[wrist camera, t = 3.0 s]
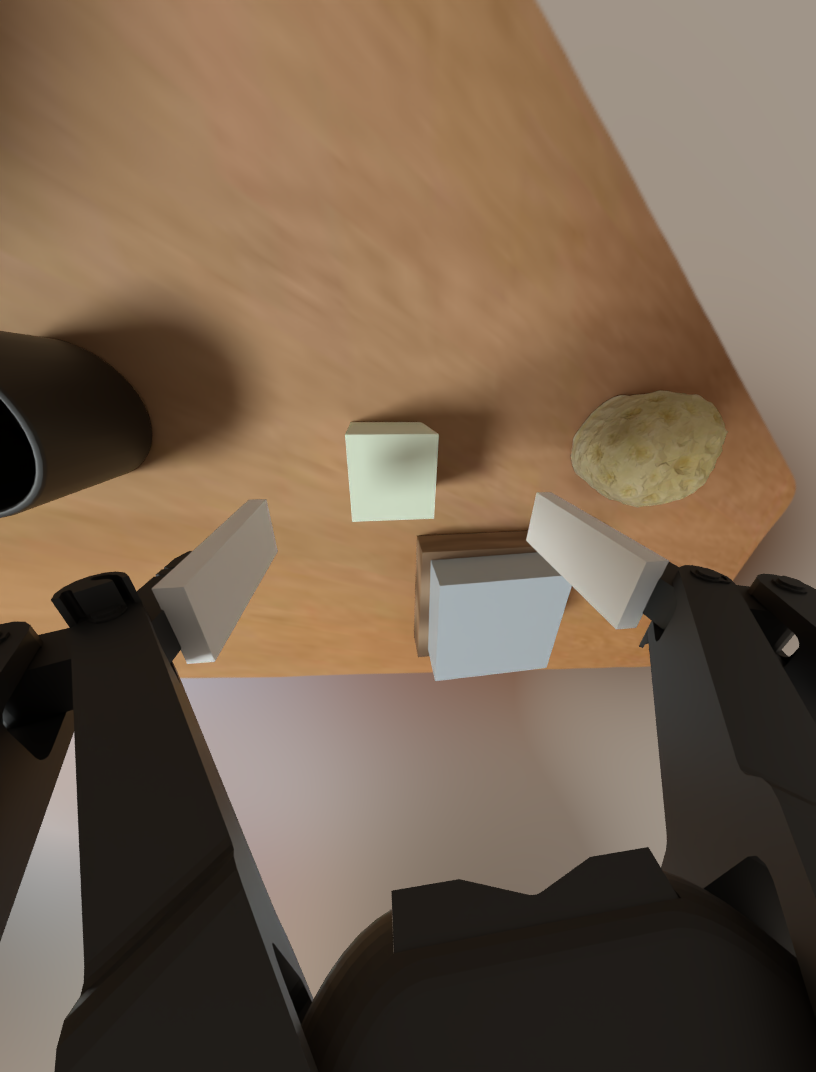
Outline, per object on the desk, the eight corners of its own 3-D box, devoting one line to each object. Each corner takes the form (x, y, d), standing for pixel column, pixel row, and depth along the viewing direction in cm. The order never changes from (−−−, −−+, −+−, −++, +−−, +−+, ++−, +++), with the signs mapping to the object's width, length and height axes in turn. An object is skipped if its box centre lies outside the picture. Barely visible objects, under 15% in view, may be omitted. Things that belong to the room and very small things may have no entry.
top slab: (430, 560, 28) (439, 585, 24) (549, 551, 29) (575, 574, 25) (428, 649, 33) (435, 680, 30) (528, 638, 34) (546, 667, 31)
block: (350, 422, 24) (345, 434, 18) (421, 422, 25) (438, 434, 19) (355, 490, 27) (352, 521, 21) (419, 488, 28) (433, 518, 22)
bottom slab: (416, 533, 31) (422, 552, 27) (540, 527, 32) (562, 545, 29) (413, 631, 37) (418, 657, 33) (517, 622, 39) (532, 646, 35)
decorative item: (544, 454, 32) (584, 535, 27) (595, 369, 23) (666, 470, 19) (625, 441, 32) (676, 518, 28) (706, 353, 23) (799, 448, 19)
